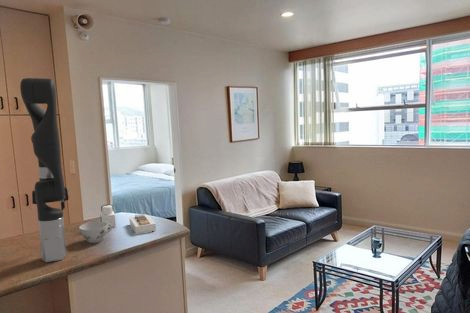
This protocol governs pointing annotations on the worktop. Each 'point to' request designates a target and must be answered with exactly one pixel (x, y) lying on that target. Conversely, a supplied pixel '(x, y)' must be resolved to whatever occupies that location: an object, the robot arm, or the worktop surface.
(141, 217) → the tile two
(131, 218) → the key panel
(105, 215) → the medicine bottle
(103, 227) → the teacup
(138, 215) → the tile three
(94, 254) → the worktop surface
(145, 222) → the tile one
